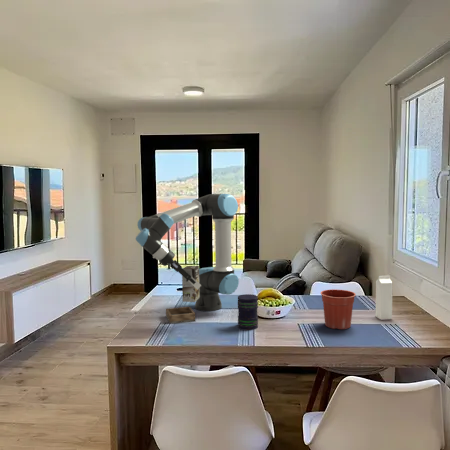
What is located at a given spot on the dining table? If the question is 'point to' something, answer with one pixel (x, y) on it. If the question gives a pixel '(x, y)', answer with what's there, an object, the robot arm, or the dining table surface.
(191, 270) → the coffee box
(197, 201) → the robot arm
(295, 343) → the dining table surface
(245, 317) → the storage jar
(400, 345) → the dining table surface
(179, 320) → the wooden tray
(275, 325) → the dining table surface
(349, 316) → the flower pot
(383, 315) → the milk
